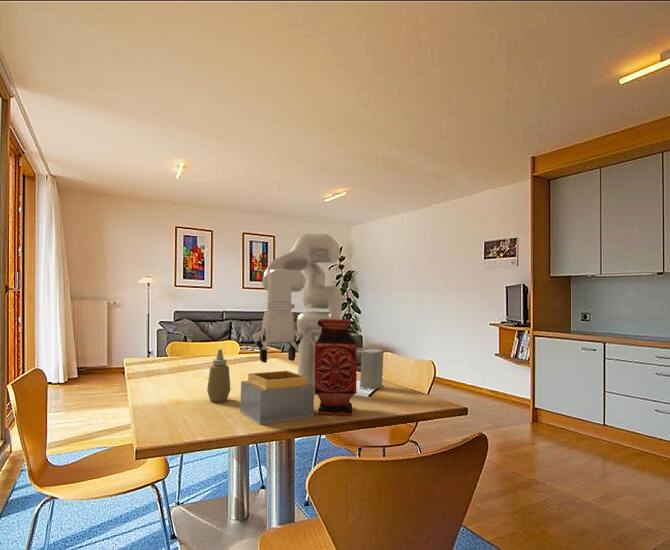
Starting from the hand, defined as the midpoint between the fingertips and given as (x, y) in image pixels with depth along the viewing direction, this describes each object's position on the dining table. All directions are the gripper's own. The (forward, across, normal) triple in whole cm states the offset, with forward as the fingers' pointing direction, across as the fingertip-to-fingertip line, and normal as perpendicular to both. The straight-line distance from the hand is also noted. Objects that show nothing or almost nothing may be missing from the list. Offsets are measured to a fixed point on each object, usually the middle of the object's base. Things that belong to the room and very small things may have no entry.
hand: (277, 361), depth 144 cm
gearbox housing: (+17, 0, 0) cm, 17 cm away
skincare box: (+17, -53, -20) cm, 59 cm away
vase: (+17, -19, +5) cm, 26 cm away
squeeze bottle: (+17, +10, -27) cm, 33 cm away
